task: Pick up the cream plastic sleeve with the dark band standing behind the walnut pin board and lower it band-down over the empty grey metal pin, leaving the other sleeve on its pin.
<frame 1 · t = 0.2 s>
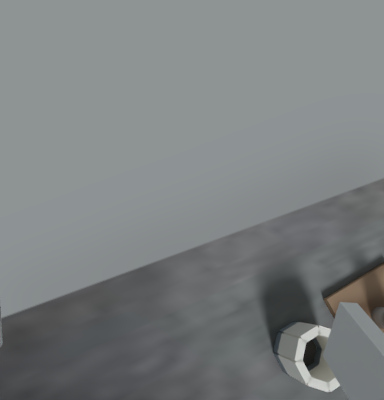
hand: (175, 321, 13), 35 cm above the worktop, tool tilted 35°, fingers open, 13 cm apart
cream sleeve: (298, 349, 48), on the worktop
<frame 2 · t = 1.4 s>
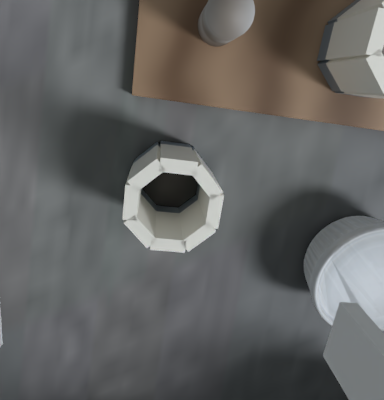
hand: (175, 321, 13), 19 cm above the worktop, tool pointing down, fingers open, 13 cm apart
cream sleeve: (170, 180, 31), on the worktop
pin board: (286, 39, 28), on the worktop
seated sleeve: (361, 50, 28), point 1 cm above the worktop, touching pin board
ramekin: (344, 255, 36), on the worktop
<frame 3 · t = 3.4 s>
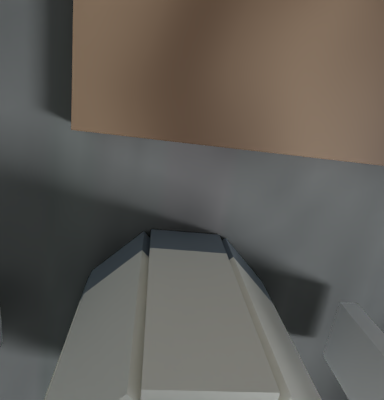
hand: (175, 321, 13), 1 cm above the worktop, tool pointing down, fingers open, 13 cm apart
cream sleeve: (175, 309, 14), on the worktop
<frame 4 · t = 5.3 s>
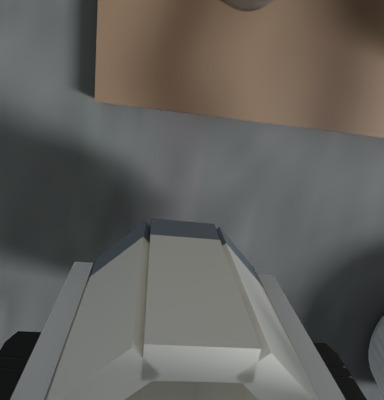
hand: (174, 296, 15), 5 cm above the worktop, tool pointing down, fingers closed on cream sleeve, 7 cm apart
cream sleeve: (173, 293, 15), point 4 cm above the worktop, touching gripper
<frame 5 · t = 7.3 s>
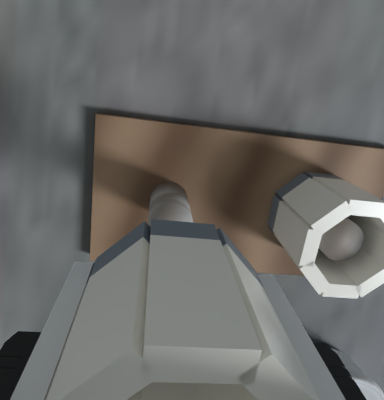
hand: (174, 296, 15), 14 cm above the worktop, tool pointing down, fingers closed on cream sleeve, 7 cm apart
cream sleeve: (173, 294, 15), point 14 cm above the worktop, touching gripper
pin board: (238, 202, 29), on the worktop
seated sleeve: (310, 213, 29), point 1 cm above the worktop, touching pin board
ramekin: (306, 376, 37), on the worktop
when the fingers open (3 cm above the worktop, at t = 9.6 s): cream sleeve drops 1 cm, resting on pin board.
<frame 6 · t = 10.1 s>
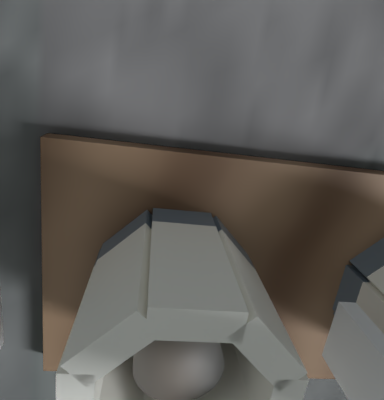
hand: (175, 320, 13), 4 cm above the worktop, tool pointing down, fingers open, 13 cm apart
cream sleeve: (173, 278, 16), point 1 cm above the worktop, touching pin board
pin board: (285, 273, 18), on the worktop
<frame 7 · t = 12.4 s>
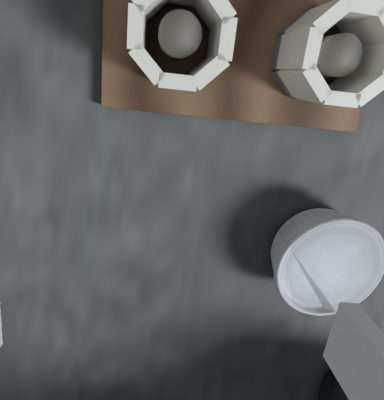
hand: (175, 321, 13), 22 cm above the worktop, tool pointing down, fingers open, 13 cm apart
cream sleeve: (176, 41, 29), point 1 cm above the worktop, touching pin board
pin board: (242, 49, 30), on the worktop
seated sleeve: (311, 57, 30), point 1 cm above the worktop, touching pin board
ramekin: (309, 244, 39), on the worktop
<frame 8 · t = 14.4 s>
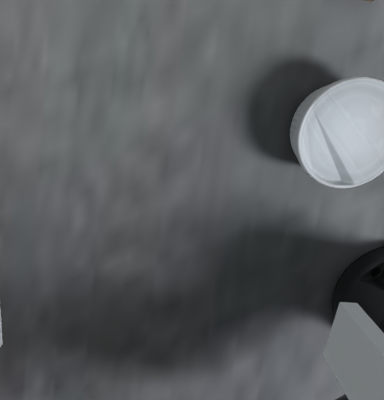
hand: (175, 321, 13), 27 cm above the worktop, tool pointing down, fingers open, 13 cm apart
ramekin: (327, 128, 39), on the worktop
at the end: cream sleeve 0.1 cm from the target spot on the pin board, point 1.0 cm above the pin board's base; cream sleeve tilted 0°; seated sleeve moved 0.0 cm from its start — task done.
